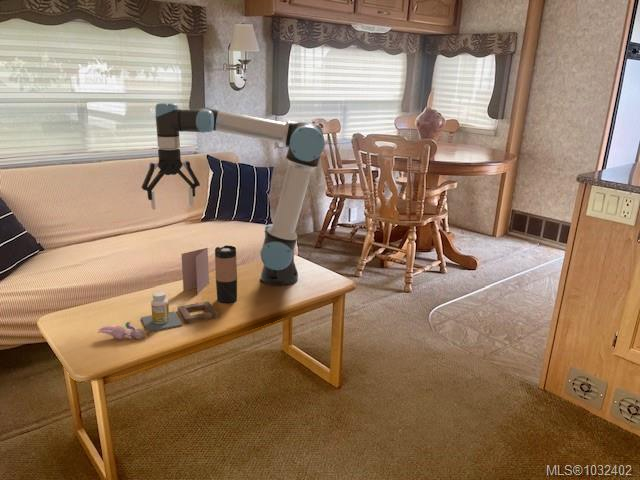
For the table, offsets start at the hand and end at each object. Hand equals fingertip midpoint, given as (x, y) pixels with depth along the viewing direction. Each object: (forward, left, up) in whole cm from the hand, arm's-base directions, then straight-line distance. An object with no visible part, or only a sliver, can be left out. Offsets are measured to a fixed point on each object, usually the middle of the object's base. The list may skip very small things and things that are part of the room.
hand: (172, 207), depth 187 cm
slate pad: (+12, +25, -33) cm, 43 cm away
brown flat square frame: (-1, +24, -33) cm, 41 cm away
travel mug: (-14, +17, -33) cm, 40 cm away
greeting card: (-8, +3, -33) cm, 34 cm away
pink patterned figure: (+24, +31, -33) cm, 51 cm away
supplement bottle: (+12, +25, -32) cm, 42 cm away
